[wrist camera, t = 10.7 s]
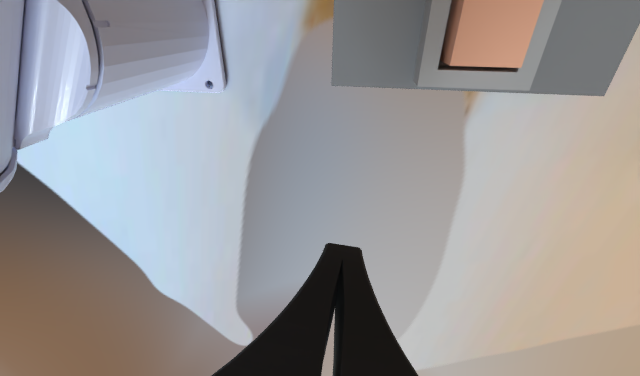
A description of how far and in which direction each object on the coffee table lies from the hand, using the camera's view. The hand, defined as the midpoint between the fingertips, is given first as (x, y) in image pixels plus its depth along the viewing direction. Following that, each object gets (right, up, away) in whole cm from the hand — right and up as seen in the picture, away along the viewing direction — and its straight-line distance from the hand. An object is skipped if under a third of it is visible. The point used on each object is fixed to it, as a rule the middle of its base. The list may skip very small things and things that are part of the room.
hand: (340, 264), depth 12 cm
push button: (+7, +11, +2) cm, 13 cm away
